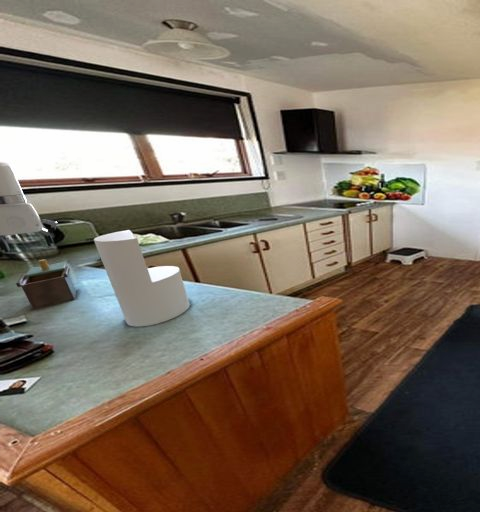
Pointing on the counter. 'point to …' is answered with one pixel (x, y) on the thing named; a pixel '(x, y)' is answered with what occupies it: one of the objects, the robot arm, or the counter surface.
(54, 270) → the slide door
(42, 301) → the storage box
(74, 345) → the counter surface
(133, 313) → the white stepped drum
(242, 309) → the counter surface
